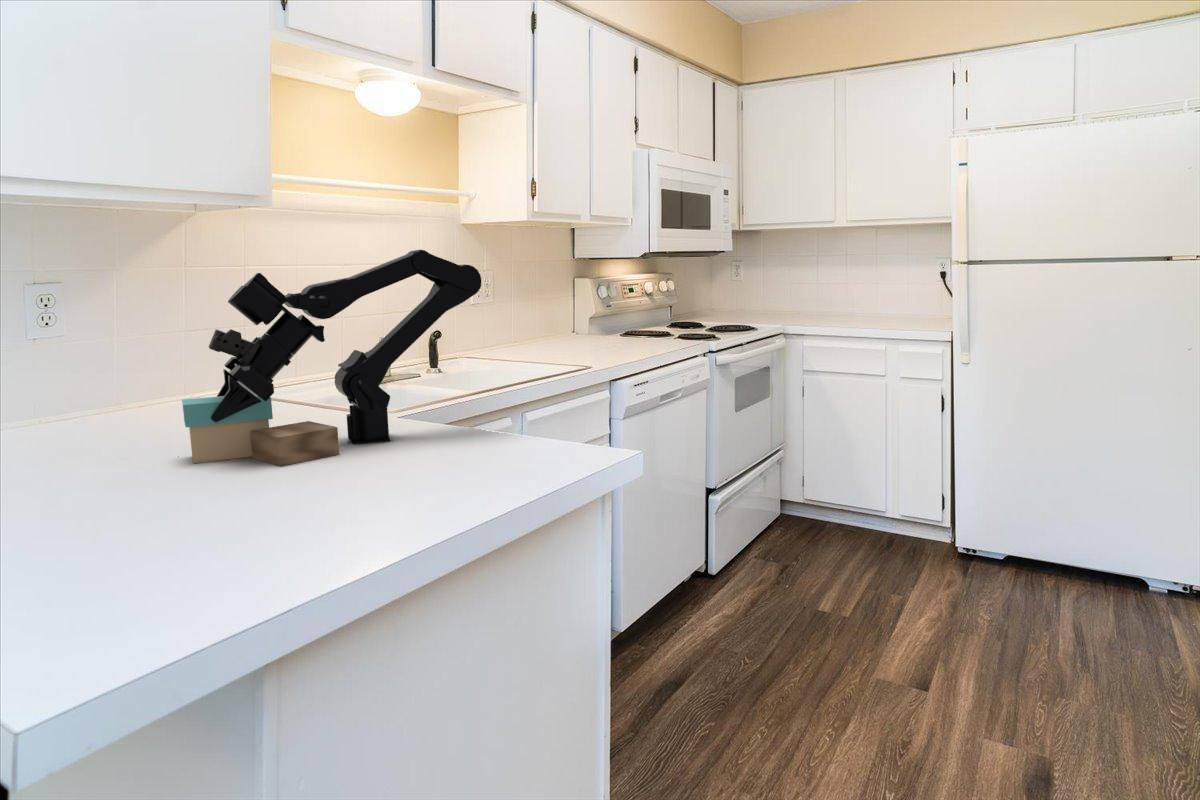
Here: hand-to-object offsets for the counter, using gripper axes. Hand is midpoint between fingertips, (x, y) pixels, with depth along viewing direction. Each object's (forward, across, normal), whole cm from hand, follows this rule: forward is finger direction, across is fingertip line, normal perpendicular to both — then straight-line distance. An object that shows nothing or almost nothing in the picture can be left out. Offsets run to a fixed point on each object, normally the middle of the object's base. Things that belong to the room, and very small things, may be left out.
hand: (211, 417), depth 126 cm
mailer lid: (-1, 0, +2) cm, 3 cm away
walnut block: (-3, +7, +13) cm, 15 cm away
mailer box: (+3, 0, +6) cm, 7 cm away
